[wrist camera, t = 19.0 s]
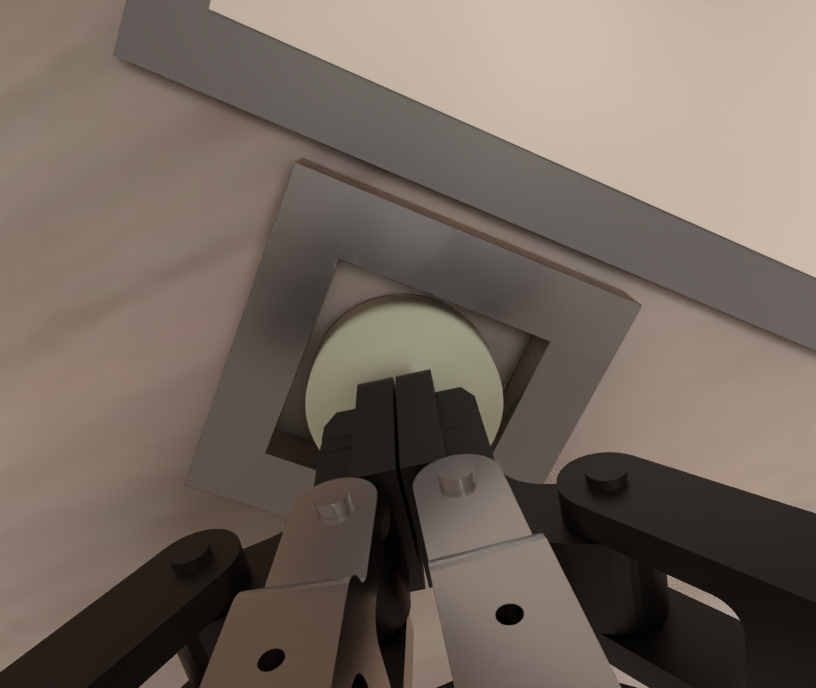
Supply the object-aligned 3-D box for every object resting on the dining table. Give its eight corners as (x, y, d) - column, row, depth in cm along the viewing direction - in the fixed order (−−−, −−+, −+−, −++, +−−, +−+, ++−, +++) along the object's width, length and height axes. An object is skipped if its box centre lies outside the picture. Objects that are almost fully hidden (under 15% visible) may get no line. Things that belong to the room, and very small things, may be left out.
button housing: (198, 459, 17) (184, 485, 15) (302, 157, 14) (294, 162, 13) (482, 552, 18) (488, 582, 17) (623, 290, 15) (642, 305, 14)
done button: (287, 427, 16) (278, 456, 15) (350, 265, 15) (346, 282, 13) (449, 483, 17) (455, 515, 16) (524, 334, 15) (536, 355, 14)
